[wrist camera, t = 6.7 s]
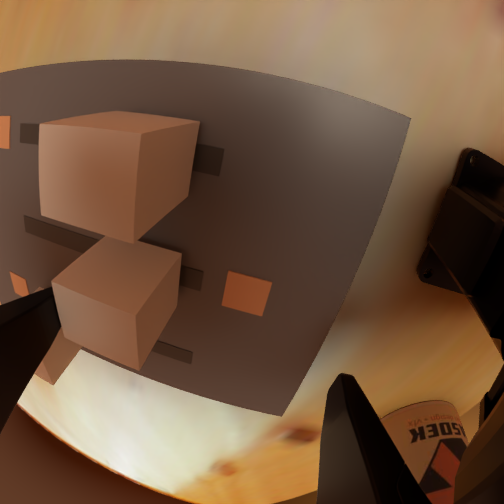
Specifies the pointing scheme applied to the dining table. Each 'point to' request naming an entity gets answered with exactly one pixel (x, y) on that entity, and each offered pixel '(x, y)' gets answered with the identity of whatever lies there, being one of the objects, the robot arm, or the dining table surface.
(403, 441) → the coffee cup
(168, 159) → the slider
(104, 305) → the slider
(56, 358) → the slider
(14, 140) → the switch unit
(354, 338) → the dining table surface
